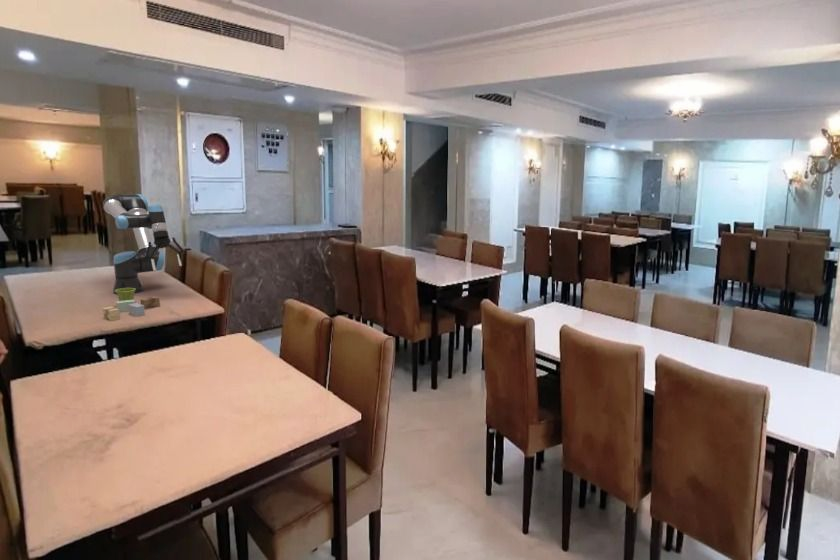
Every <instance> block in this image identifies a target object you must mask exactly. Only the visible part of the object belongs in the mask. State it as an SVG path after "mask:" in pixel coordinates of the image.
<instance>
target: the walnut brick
mask: <svg viewBox="0 0 840 560" xmlns="http://www.w3.org/2000/svg"><path fill="white" fill-rule="evenodd" d="M160 302H161V301H160V297H159V296H156V295H155V296H150V297H145V298H140V304H141V305H144V310H148V309H153V308H158V307H159V308H160V307H161V303H160Z"/></svg>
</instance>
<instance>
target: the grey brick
mask: <svg viewBox="0 0 840 560" xmlns="http://www.w3.org/2000/svg"><path fill="white" fill-rule="evenodd" d="M128 310H129V311H128V314H129V315H131V316H134V317H141V316H145V315H146V313H145V309H144V305H141V303H138V302H135V303H133V304H128Z"/></svg>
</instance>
